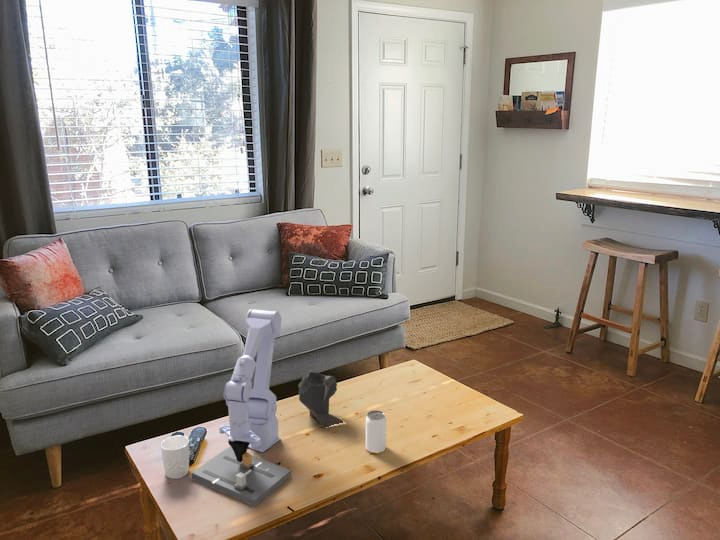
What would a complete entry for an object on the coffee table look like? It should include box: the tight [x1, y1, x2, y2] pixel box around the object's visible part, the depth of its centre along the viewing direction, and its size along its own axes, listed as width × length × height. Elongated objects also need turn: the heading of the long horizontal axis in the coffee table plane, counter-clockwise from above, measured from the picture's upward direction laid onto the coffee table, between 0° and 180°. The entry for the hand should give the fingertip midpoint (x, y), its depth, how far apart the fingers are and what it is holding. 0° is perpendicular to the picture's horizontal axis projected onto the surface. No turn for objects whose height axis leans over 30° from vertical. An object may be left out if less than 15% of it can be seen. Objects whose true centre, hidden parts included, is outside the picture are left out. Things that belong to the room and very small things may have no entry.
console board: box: [190, 446, 292, 507], centre depth 173 cm, size 16×24×2 cm
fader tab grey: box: [234, 472, 249, 490], centre depth 165 cm, size 3×3×4 cm
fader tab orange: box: [240, 451, 254, 469], centre depth 175 cm, size 3×3×4 cm
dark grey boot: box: [297, 369, 343, 429], centre depth 205 cm, size 14×15×18 cm
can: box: [365, 410, 387, 453], centre depth 187 cm, size 6×6×12 cm
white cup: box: [160, 434, 190, 480], centre depth 174 cm, size 8×8×10 cm
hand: (241, 460), depth 176 cm, fingers closed
